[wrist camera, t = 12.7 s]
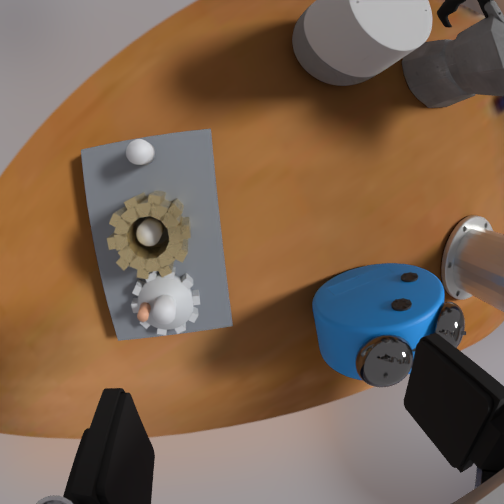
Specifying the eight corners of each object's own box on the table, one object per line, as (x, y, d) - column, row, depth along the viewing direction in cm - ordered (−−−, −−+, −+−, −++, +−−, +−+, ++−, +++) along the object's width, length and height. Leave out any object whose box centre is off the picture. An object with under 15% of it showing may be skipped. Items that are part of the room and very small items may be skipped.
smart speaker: (298, 96, 29) (372, 54, 15) (273, 20, 26) (325, -53, 12) (374, 87, 30) (463, 59, 16) (350, 16, 27) (422, -35, 14)
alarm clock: (302, 332, 35) (362, 417, 21) (292, 284, 33) (360, 361, 19) (396, 295, 37) (477, 351, 23) (392, 250, 35) (485, 294, 21)
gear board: (209, 131, 28) (213, 122, 23) (230, 317, 33) (238, 343, 28) (87, 150, 26) (67, 147, 21) (121, 331, 31) (111, 359, 26)
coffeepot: (466, 107, 32) (570, 101, 15) (431, 135, 32) (552, 135, 15) (410, 10, 27) (506, -34, 10) (367, 28, 27) (473, -32, 10)
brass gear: (185, 186, 27) (184, 189, 22) (194, 255, 29) (195, 273, 24) (116, 196, 26) (101, 202, 21) (127, 265, 28) (116, 283, 23)
